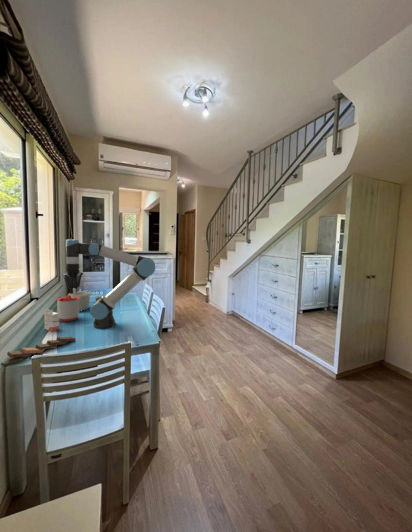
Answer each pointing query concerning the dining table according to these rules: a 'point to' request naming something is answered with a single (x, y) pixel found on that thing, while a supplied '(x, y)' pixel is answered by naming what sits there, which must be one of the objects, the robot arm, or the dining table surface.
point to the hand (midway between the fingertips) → (73, 297)
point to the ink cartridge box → (51, 320)
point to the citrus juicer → (68, 308)
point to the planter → (83, 299)
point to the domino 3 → (31, 350)
